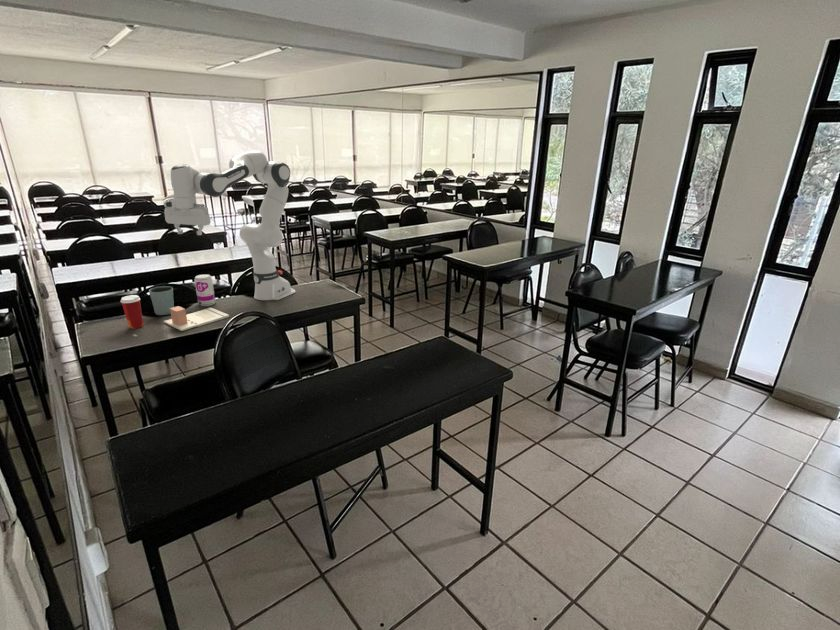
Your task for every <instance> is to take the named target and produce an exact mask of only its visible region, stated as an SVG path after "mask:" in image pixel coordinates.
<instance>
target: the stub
mask: <svg viewBox="0 0 840 630" xmlns="http://www.w3.org/2000/svg"><path fill="white" fill-rule="evenodd" d="M170 312H171V314H170V317H171V318H169V319H166V320H164V321H163V323H165V324H166V325H168V326H170V327H172V328H174V329H177V330H178V331H179V332H183V331H187V330H190V329H193V328H196V327H197V325H196V324H194V323H192V322H189V321H187V317H186V315H187V312H186V309H185V308H184V307H182V306H179V305H178V306H174V307H173V308H170Z"/></svg>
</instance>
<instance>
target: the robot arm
mask: <svg viewBox="0 0 840 630" xmlns="http://www.w3.org/2000/svg"><path fill="white" fill-rule="evenodd" d="M228 166H229V167H228V168H229V169H228V170H225V171H223V172H221V173H217V172H209V173H208V172H203V171H199V170H197V169H195V168H193V167H191V166H190V165H189V164H178V165H175V166H172V167H171V169H170V181H171V188H172V190H173V199H170V200H167V201H165V202H164V203H163V205H164V206H163V207H165V208H164V218H165V219H164V220H165V222H166V223H167V224H172V225H173V226H174V228H175V229H176V231H177V235H183V234H184V229H182V228H181V227H180V226H181V225H185V226H186V225H187V226H189V225H191V226H197V228H198V230H196V235H197V236H202V235H203V229H204V228H205V227H206V226H209V225H211V218H210V213H209V208H208V207H207V205H205V204H204V203H200V204H199V203H198V202H197V197H196V195H197V194H199V195H203V196H210V197H213V198H217V197H220V196H222V195H223V194H224V193H225V191H227V189H229V188H230V187H232V186H233V185H235V184H237V183H239V182H240V181H242V180H244V179H247V178H250V177H253V178H254V179H255V180H256V181H257V182H258V183H261V184H267V191H266V193H265V195H264V197H263V200H262V202H261V204H260V207H259V209H258V211H259V215H260V216H261V223H254V222H253V223H247V224H246V223H245V224H243V225H242V226H241V228H240V230H239V236H240V239H241V240H242V241H243V243H245V245H246V247H247V249H248V250H249V254H250V257H251V259H252V260H251V261H252V264H253V281H254V284H255V285H254V296H253V298H254V299H255V300H259V301H279V300H281V299H283V298H286V297H289V296H291V295H293V294H296V289H294V288H292V287H291V286H292V285H291V283H290V282H289V281H288V280H287V279H285V278H284V277H281V276H280V275H283V271H282V270H279V269H278V270H277V268H276V261H275V260H276V259H275V256H274V254H273V253H272V252H271V251H270V249H269V248H277V247H279V246H280V245H281V244H282V243H283V239H284V237H283V233H282V230H281V227H280V222H281V217H282V215H283V212H284V210H285V206H286V204H287V201H288V197H289V188H288V186H287V185H288V184H289V183H290V179H291V169H290V166H289V165H288V164H287V163H285V162H282V161H274V160H273V161H268V159H267V156H266V155H265V153H264V152H263V151H262V150H258V149H253V150H248V151H244V152H242V153H239V154H236V155H235V156H233V157H232V158H230V160H229V162H228ZM204 226H205V227H204Z"/></svg>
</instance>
